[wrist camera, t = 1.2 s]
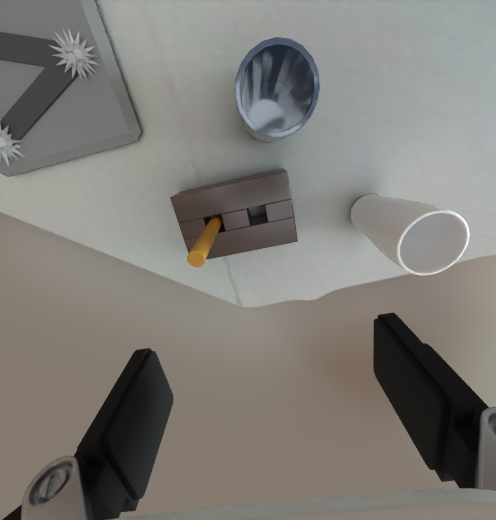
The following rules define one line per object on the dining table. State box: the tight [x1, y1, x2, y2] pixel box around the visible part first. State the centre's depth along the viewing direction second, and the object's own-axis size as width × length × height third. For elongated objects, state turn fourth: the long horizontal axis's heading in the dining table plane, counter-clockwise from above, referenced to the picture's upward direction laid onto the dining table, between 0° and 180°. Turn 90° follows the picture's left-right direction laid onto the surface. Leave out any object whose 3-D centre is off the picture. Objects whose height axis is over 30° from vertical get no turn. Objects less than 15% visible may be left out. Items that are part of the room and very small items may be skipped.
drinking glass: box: [350, 194, 469, 275], centre depth 31 cm, size 7×7×15 cm
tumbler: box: [235, 37, 320, 143], centre depth 27 cm, size 7×7×12 cm
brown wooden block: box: [170, 169, 298, 259], centre depth 36 cm, size 9×15×5 cm, turn 102°
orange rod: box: [187, 214, 223, 267], centre depth 31 cm, size 2×2×17 cm
